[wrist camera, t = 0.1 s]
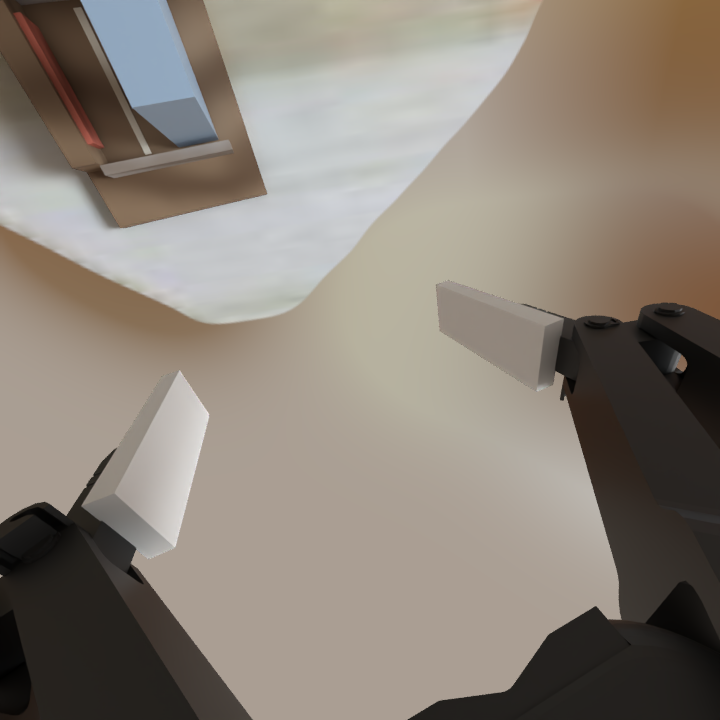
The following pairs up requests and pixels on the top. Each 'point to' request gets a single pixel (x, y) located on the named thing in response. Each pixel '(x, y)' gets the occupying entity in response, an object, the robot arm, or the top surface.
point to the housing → (128, 113)
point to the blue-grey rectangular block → (153, 67)
